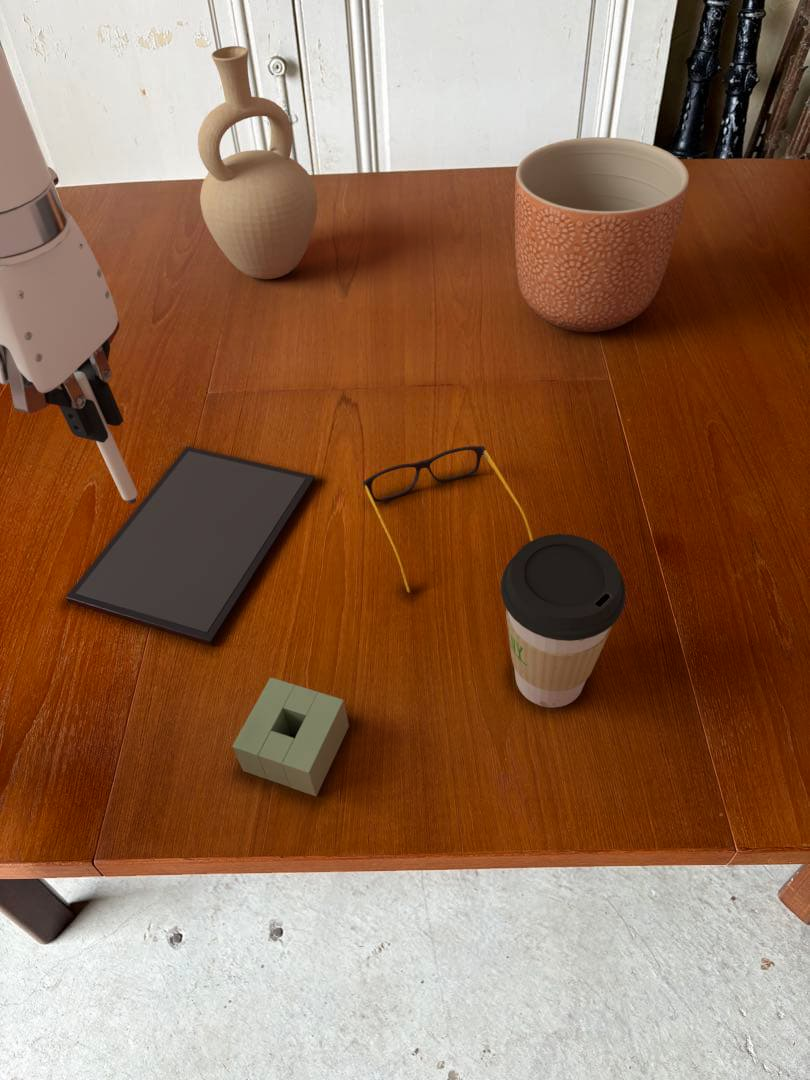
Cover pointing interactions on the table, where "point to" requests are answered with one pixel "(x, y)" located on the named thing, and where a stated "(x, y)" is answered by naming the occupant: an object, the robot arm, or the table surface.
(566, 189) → the planter
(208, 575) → the tablet
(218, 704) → the table surface
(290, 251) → the vase
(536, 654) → the coffee cup
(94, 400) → the stylus
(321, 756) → the stylus holder
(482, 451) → the eyeglasses
